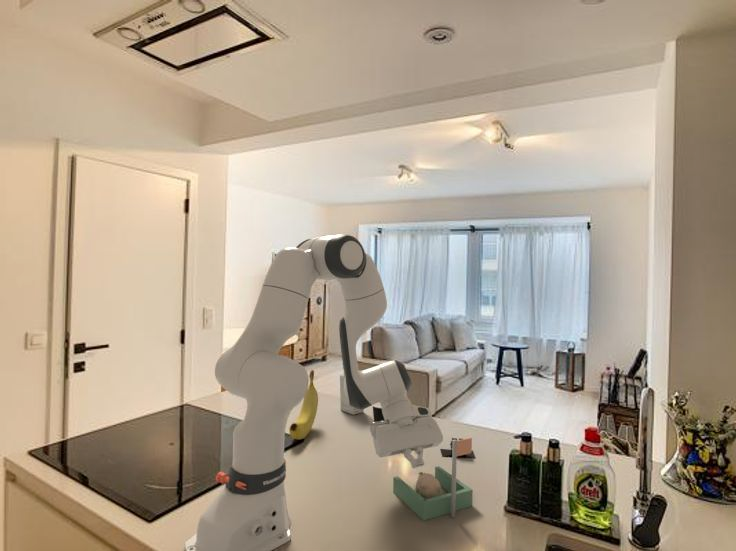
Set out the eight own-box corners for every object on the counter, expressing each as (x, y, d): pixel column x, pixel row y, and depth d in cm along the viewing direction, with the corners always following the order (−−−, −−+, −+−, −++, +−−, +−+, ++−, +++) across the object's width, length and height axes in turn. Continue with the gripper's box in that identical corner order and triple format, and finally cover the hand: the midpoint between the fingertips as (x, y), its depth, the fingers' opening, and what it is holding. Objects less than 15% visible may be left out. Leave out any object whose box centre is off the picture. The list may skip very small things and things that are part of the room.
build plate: (477, 451, 138) (477, 436, 138) (481, 462, 131) (482, 446, 131) (435, 449, 139) (436, 434, 139) (437, 459, 132) (438, 444, 132)
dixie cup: (383, 429, 154) (384, 398, 154) (398, 436, 148) (399, 404, 148) (366, 434, 149) (367, 402, 149) (381, 441, 143) (382, 409, 143)
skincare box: (363, 412, 172) (364, 375, 172) (352, 415, 168) (353, 377, 168) (350, 407, 178) (350, 371, 178) (338, 410, 174) (339, 373, 174)
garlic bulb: (411, 493, 111) (412, 462, 111) (434, 491, 112) (435, 460, 112) (420, 507, 104) (420, 475, 104) (444, 504, 106) (445, 472, 106)
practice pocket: (393, 492, 111) (394, 423, 111) (438, 480, 118) (439, 415, 117) (428, 525, 97) (430, 446, 97) (478, 510, 103) (479, 436, 103)
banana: (301, 448, 137) (302, 385, 137) (284, 446, 138) (285, 384, 138) (320, 423, 159) (321, 369, 159) (305, 421, 160) (306, 368, 160)
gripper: (371, 417, 115) (389, 469, 106) (434, 408, 124) (454, 454, 116) (364, 428, 119) (380, 479, 110) (425, 418, 128) (444, 464, 120)
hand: (418, 466), depth 113 cm, fingers closed
